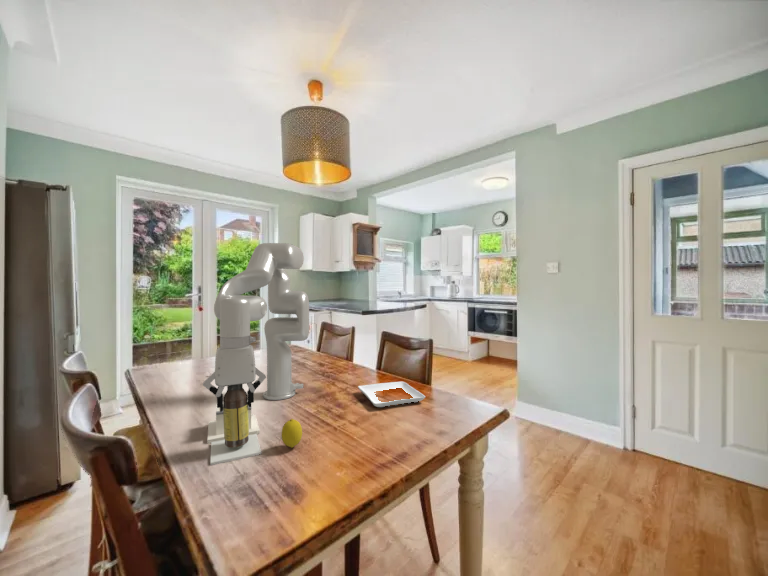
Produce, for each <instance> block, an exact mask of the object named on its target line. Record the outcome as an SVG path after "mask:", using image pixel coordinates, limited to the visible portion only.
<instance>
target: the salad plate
mask: <svg viewBox="0 0 768 576" xmlns="http://www.w3.org/2000/svg"><path fill="white" fill-rule="evenodd" d="M357 388H358V390H359V391H360V392H361V393H362V394H364V396H366V398H367V399H368V400H369V401H370V402H371V403H372V405H373V406H374V407H377V408H384V407H385V406H388V407H391V406H390V405H395V406H398V405H397V404H402V405H405V404H404V403H408V404H412V403H411V402H414V403H419V402H421V401H423V400H424V399H425V398H426V396H425V395H424V394H423V393H422V392H420V391H419V390H417V389H416V388H415V387H413V386H411V385H409V383H407V382H405V381H391V382H381V383H380V382H379V383H372V384H366V385H365V384H364V385H358V386H357ZM396 388H402V389H403V390H404V391H405V392H406V393H408V394H410V395H411V396H412V397H413V398H410V399H401V400H394V401H389V402H381V401H379V400H378V397H376V395H375V394H376V393H374V392H376V391H383V390H389V389H396ZM418 401H419V402H418ZM385 408H386V407H385Z"/></svg>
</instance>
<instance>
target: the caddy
mask: <svg viewBox="0 0 768 576" xmlns="http://www.w3.org/2000/svg"><path fill="white" fill-rule="evenodd" d="M247 402H248V399H247ZM223 405H224V402H223ZM215 406H216V407H215V416H216V417H215V420H210V421H208V425H207V426H208V427H207V428H208V429H207V438H206V439H207V441H206V442H207V443H208V444H211V442H215V441H220V440H225V438H224V415H223V411H222V412H220V408H217V403H216V404H215ZM248 422H249V435H252V434H257V435H259V434H258V433H261V430H260V426H259V422H258V419H257V415H256V413H255V414H254V413H252V406H251V407H248Z"/></svg>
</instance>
